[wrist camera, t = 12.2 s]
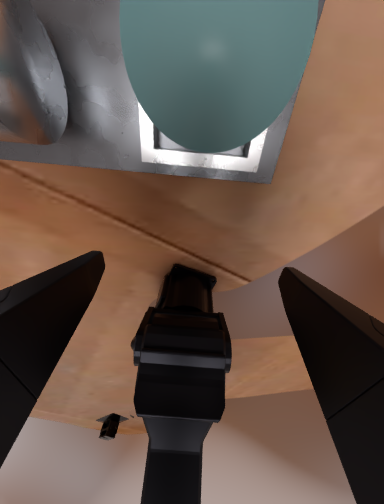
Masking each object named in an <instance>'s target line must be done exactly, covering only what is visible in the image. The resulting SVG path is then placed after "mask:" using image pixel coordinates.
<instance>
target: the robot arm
mask: <svg viewBox="0 0 384 504" xmlns="http://www.w3.org/2000/svg"><path fill="white" fill-rule="evenodd" d="M175 267H177V268H175ZM104 270H105V262H104V257H103V253H102V252H101V251H91V252H88V253H86V254H84V255H81V256H79V257H77V258H74V259H72V260H70V261H67V262H65V263H63V264H60V265H58V266H56V267H54V268H51V269H49V270H47V271H44V272H42V273H40V274H37V275H35V276H33V277H30V278H28V279H26V280H24V281H21V282H19V283H17V284H14V285H13V286H10V287H7V288H5V289H3V290H0V468H1V466H2V464H3V462H4V460H5V459H6V457H7V455H8V453H9V451H10V449H11V448H12V446H13V444H14V442H15V440H16V438H17V437H18V435H19V433H20V431H21V429H22V427H23V425H24V424H25V422H26V420H27V418H28V416H29V415H30V413H31V411H32V409H33V407H34V405H35V404H36V402H37V399H38V398H39V396H40V394H41V392H42V390H43V389H44V387H45V385H46V383H47V381H48V379H49V378H50V376H51V374H52V372H53V370H54V368H55V367H56V365H57V363H58V361H59V359H60V357H61V356H62V354H63V352H64V350H65V348H66V346H67V345H68V343H69V341H70V339H71V337H72V335H73V334H74V332H75V330H76V328H77V326H78V324H79V323H80V321H81V319H82V317H83V315H84V313H85V312H86V310H87V308H88V306H89V304H90V302H91V301H92V299H93V297H94V295H95V292H96V290H97V287H98V285H99V282H100V280H101V278H102V275H103V273H104ZM212 280H214V281H212ZM216 282H217V280H216V278H215V277H213V276H210V275H207V274H204V273H202V272H199V271H196V270H193V269H190V268H187V267H185V266H182V265H179V264H174V265H173V267H172V269H171V271H170V273H169V275H166V276H165V278H164V280H163V282H162V285H161V287H160V290H159V294H158V298H157V302H156V306H155V308H154V307H149V308H148V311H147V312H146V313H145V315H144V318H143V320H142V322H141V324H140V326H139V329H138V331H137V333H136V336H135V337H134V338H133V340H132V342H131V348H132V349H133V351H134V366H138V372H137V379H136V386H135V394H134V405H135V410H136V414H137V416H138V417H142V418H143V421H144V424H145V427H146V430H147V433H148V436H149V443H148V452H147V459H146V467H145V475H144V482H143V490H142V497H141V504H201V477H202V475H201V474H202V448H203V441H204V439H205V437H206V435H207V433H208V431H209V429H210V427H211V425H212V424H213V422H215V423H218V422H219V421H220V419H221V416H222V414H223V411H224V409H225V373H229V371H230V367H231V358H232V350H231V339H230V335H229V331H228V328H227V325H226V322H225V318H224V315H223V313H220V312H218V313H213V301H212V288H213V287H214V285H215V284H216ZM278 284H279V288H280V292H281V297H282V301H283V305H284V308H285V312H286V315H287V317H288V320H289V323H290V325H291V328H292V331H293V334H294V336H295V339H296V342H297V344H298V347H299V350H300V352H301V355H302V358H303V360H304V363H305V366H306V368H307V371H308V374H309V377H310V379H311V382H312V385H313V387H314V390H315V392H316V395H317V398H318V401H319V403H320V406H321V408H322V411H323V414H324V416H325V419H326V420H327V421H326V422H327V425H328V428H329V431H330V433H331V436H332V439H333V441H334V444H335V447H336V449H337V452H338V455H339V457H340V460H341V463H342V466H343V468H344V471H345V474H346V476H347V479H348V482H349V484H350V487H351V490H352V492H353V495H354V498H355V500H356V503H357V504H384V323H382V322H381V321H379V320H377V319H376V318H374V317H373V316H370V315H369V314H368V313H366V312H364V311H363V310H361V309H360V308H358V307H356V306H355V305H353V304H351V303H350V302H348V301H347V300H345V299H343V298H342V297H340V296H338V295H337V294H335V293H334V292H332V291H331V290H329V289H327V288H326V287H324V286H323V285H321V284H319V283H318V282H316V281H314V280H313V279H311V278H310V277H308V276H306V275H305V274H303V273H302V272H300V271H298V270H297V269H295V268H293V267H285V268H284V269H283V271H282V273H281V276H280V278H279V281H278Z"/></svg>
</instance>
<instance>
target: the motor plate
mask: <svg viewBox="0 0 384 504" xmlns="http://www.w3.org/2000/svg"><path fill="white" fill-rule="evenodd" d="M324 2H325V0H319V1H318V15H317V23H316V29H317V26H318V23H319V19H320V16H321V13H322V9H323V6H324ZM119 14H120V0H0V159H5V160H16V161H27V162H38V163H48V164H59V165H70V166H81V167H92V168H103V169H113V170H124V171H135V172H146V173H157V174H168V175H178V176H189V177H200V178H211V179H222V180H233V181H243V182H254V183H265V184H271V181H272V177H273V174H274V171H275V167H276V164H277V161H278V157H279V154H280V150H281V147H282V144H283V140H284V137H285V134H286V130H287V127H288V124H289V120H290V117H291V113H292V110H293V107H294V103H295V100H296V97H297V93H298V90H299V87H300V83H301V80H302V77H301V79H300V81H299V84H298V86H297V88H296V90H295V91H294V93H293V95H292V97H291V99H290V100H289V102H288V103H287V105H286V106H285V108H284V109H283V111H282V112H281V113H280V114H279V116H278V117H277V118H276V119H275V120H274V122H273V123H272V124H271V125H270V126H269V127H268V128H267V129H265V130H264V131H263V132H262V133H261V134H260V135H258V136H257V137H256V138H254V139H253V140H251V141H249V142H248V143H246V144H244V145H242V146H240V147H237V148H235V149H232V150H228V151H225V152H218V153H203V152H197V151H193V150H190V149H187V148H184V147H182V146H180V145H178V144H176V143H175V142H173V141H172V140H170V139H169V138H167V137H166V136H165V135H164V134H163V133H162V132H161V131H159V130H158V128H157V127H156V126H155V125H154V124H153V123H152V122H151V120H150V119H149V118H148V116H147V115H146V113H145V112H144V110H143V109H142V107H141V105H140V103H139V102H138V100H137V98H136V95H135V93H134V91H133V88H132V86H131V83H130V80H129V77H128V74H127V71H126V67H125V62H124V58H123V53H122V46H121V39H120V21H119ZM316 29H315V33H316ZM314 36H315V35H314ZM303 73H304V72H303ZM302 76H303V75H302Z"/></svg>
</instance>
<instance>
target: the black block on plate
mask: <svg viewBox="0 0 384 504" xmlns="http://www.w3.org/2000/svg"><path fill="white" fill-rule="evenodd" d="M130 416H131V417H132V418H134V416H132V415H130ZM125 420H128V418H125V417H123V416H120V415H117V414H115V413H112V414H110V415H107V416H105V417H103V418H100V419H98V420H96V421H98V422H102V423H103V426H102V429H101V432H100V436H99V438H100V439H104V440H110V439H114V438H115V434H116V433H117V429H118V425H119V423H120V422H123V421H125Z"/></svg>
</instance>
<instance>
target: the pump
mask: <svg viewBox="0 0 384 504" xmlns="http://www.w3.org/2000/svg"><path fill="white" fill-rule="evenodd" d="M318 1H319V0H120V14H119V21H120V39H121V46H122V53H123V58H124V62H125V67H126V71H127V74H128V77H129V80H130V83H131V86H132V88H133V91H134V93H135V95H136V98H137V100H138V102H139V103H140V105H141V107H142V109H143V110H144V112H145V113H146V115H147V116H148V118H149V119H150V120H151V122H152V123H153V124H154V125H155V126H156V127H157V128H158V130H159V131H161V132H162V133H163V134H164V135H165V136H166V137H167V138H169V139H170V140H172V141H173V142H175V143H176V144H178V145H180V146H182V147H184V148H187V149H190V150H193V151H197V152H203V153H218V152H225V151H228V150H232V149H235V148H237V147H240V146H242V145H244V144H246V143H248V142H249V141H251V140H253V139H254V138H256V137H257V136H258V135H260V134H261V133H262V132H263V131H264V130H265V129H267V128H268V127H269V126H270V125H271V124H272V123H273V122H274V120H275V119H276V118H277V117H278V116H279V114H280V113H281V112H282V111H283V109H284V108H285V106H286V105H287V103H288V102H289V100H290V99H291V97H292V95H293V93H294V91H295V90H296V88H297V86H298V84H299V81H300V79H301V77H302V75H303V72H304V70H305V67H306V64H307V61H308V58H309V55H310V52H311V48H312V44H313V40H314V35H315V29H316V23H317V15H318Z"/></svg>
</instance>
